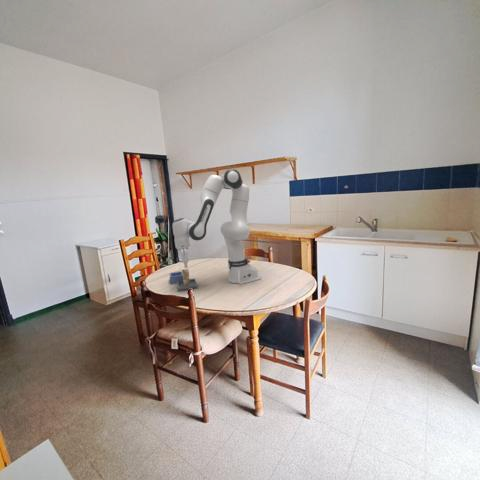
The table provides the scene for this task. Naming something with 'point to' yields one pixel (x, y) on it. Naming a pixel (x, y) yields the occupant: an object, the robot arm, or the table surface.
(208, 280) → the table surface
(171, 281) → the blue socket block
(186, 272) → the peg
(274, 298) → the table surface
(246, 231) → the robot arm
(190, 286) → the tray
